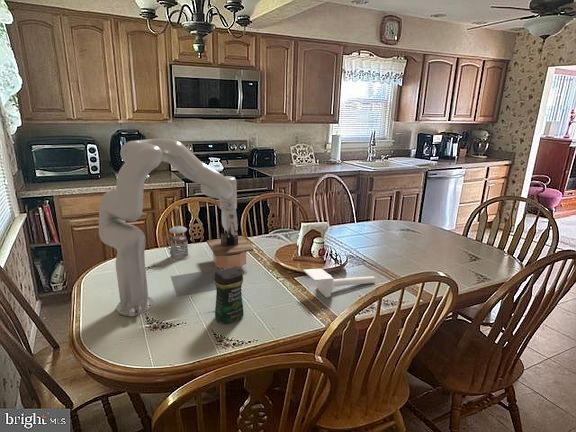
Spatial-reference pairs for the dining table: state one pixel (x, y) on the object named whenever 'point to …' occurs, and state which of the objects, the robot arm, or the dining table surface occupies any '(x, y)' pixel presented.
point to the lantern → (175, 253)
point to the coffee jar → (228, 295)
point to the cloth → (221, 247)
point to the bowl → (230, 260)
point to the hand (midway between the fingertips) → (229, 243)
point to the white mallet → (334, 280)
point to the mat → (194, 282)
